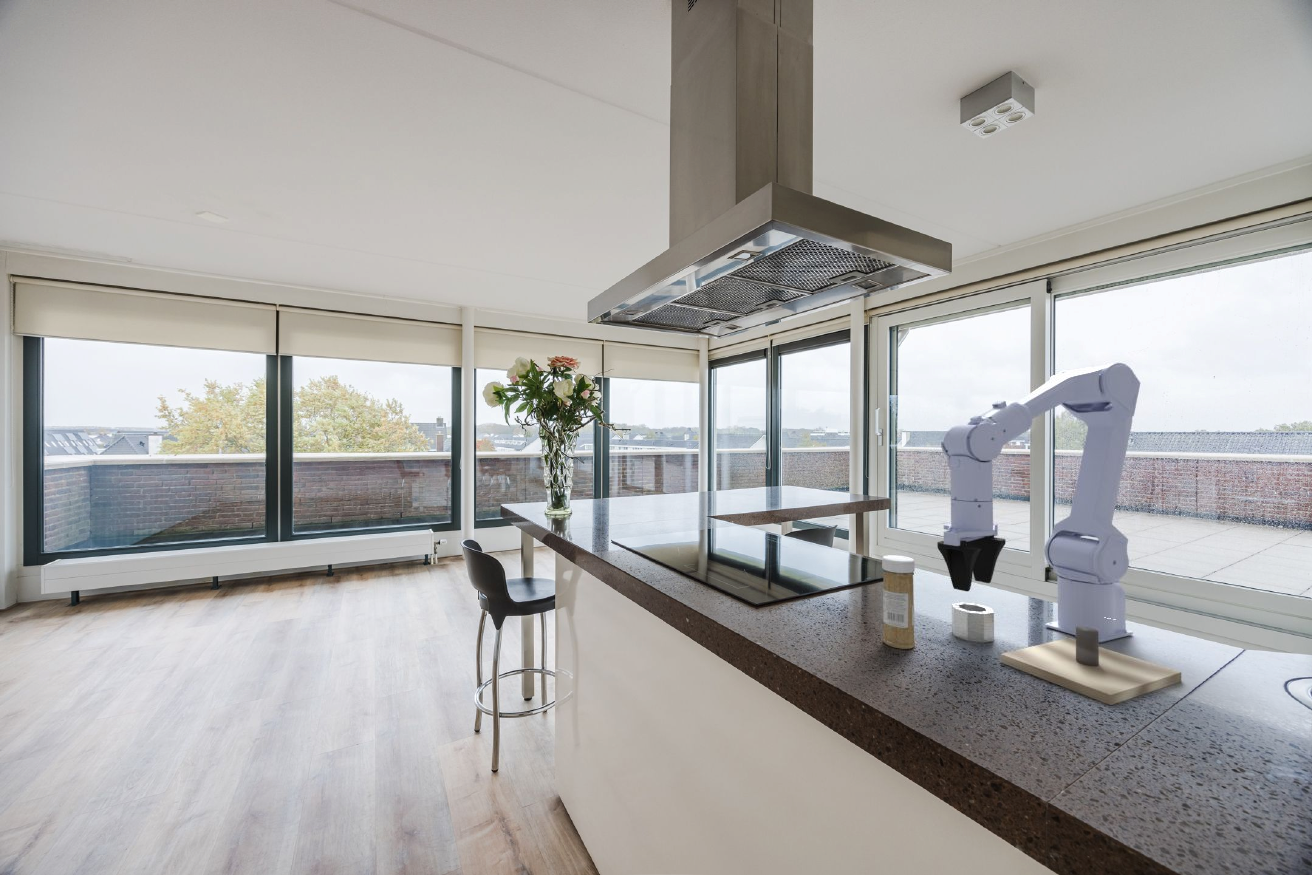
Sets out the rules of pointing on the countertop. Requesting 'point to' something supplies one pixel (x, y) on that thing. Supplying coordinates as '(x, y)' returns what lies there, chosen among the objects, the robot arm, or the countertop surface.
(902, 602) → the sprinkles bottle
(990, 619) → the steel ring
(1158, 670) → the post board
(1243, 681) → the countertop surface
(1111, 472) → the robot arm
